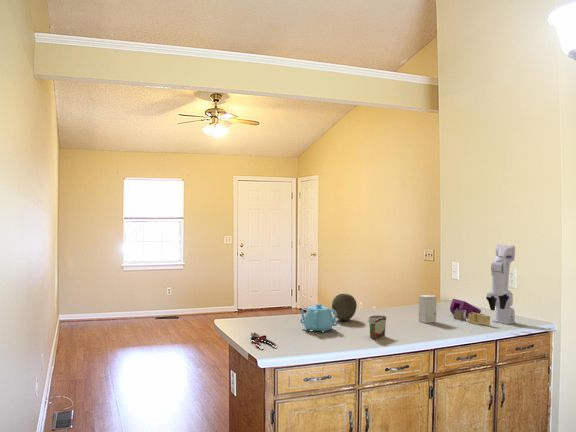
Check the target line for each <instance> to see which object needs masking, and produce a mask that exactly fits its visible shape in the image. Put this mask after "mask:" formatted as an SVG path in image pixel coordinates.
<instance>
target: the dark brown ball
mask: <svg viewBox="0 0 576 432" xmlns="http://www.w3.org/2000/svg"><path fill="white" fill-rule="evenodd" d="M331 309H333V310H335V311H336V312H337V316H336V319H338V320H339V321H342V322H347V321H349V320H350V319H352V318H353V317H354V316H355V314H356V312H357V300H356V299H355V297H354V296H353V295H351V294H348V293H339V294H338V295H336V296H334V298H333V299H332V302H331ZM332 315H334V316H335V313H334V312H333V311H332Z"/></svg>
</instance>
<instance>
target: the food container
mask: <svg viewBox="0 0 576 432" xmlns="http://www.w3.org/2000/svg"><path fill="white" fill-rule="evenodd" d="M386 322H387V316H386V315H371V316H369V317H368V319H367V323H368V324H369V338H370V339H371V338H372V339H371V340H373V339H374V340H373V341H377V340H380V339H382V338H384V337H386ZM381 337H382V338H381ZM379 338H380V339H379ZM376 339H377V340H376Z"/></svg>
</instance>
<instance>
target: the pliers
mask: <svg viewBox="0 0 576 432" xmlns="http://www.w3.org/2000/svg"><path fill="white" fill-rule="evenodd" d="M250 336H251V337H250V341H251V340H254V341H255V342H254V344H255V343H256V344H257V345H259V346H262V345H261V344H260V340H263V341H266V342H269V343H271V344H272V345H274V346H277V343H274V342H273V341H271V340H269V339H267V335H260V334H258V333H256V332H255V331H254V332H251V333H250ZM258 338H259V339H260V340H259V339H258Z"/></svg>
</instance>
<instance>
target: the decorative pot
mask: <svg viewBox="0 0 576 432" xmlns="http://www.w3.org/2000/svg"><path fill="white" fill-rule="evenodd" d="M305 310H306V312H305V314H304V311H305ZM333 312H334V313H335V315H334V316H333ZM300 314H301V319H300V320H299V321H300V324H303V326H304V328H305V329H306V330H308V331H309V330H314V331H320V332H321V331H326V332H327V331H330V330H331V329H332V328H333V327H336V326H337V325H338V320H337V318H336V316H337V312H336V311H335V310H333V309H332V308H331V309H330V307H328V306H324V305H323V304H322V303H315V305H311V306H309V307H303V308H302V309H301V311H300Z"/></svg>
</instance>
